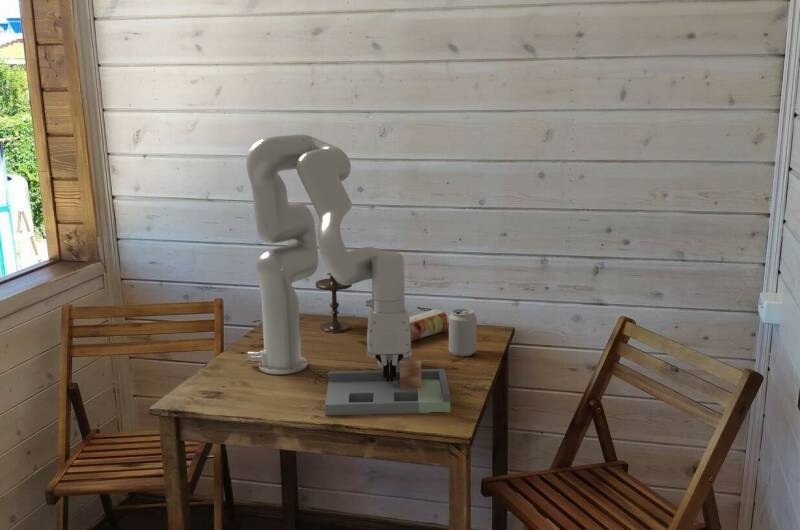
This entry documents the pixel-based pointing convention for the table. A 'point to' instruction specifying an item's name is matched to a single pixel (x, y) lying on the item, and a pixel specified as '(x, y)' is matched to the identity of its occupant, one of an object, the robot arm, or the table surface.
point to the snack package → (427, 324)
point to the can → (462, 332)
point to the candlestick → (333, 304)
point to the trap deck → (385, 393)
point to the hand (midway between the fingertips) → (389, 379)
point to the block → (410, 374)
